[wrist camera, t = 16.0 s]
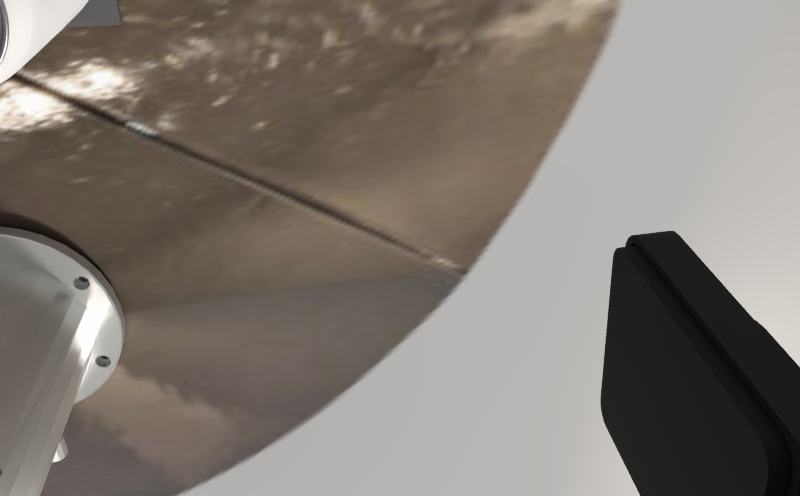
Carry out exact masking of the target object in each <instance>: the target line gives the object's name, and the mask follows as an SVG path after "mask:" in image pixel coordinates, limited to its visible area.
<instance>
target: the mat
mask: <svg viewBox="0 0 800 496" xmlns="http://www.w3.org/2000/svg"><path fill="white" fill-rule="evenodd" d="M121 24H122V19H121V14H120V9H119V4H118V0H88V2H87V3H86V5H85V6H84V7H83V9H82V10H81V11H80V12H79V13H78V14H77V15H76V16H75V17H74V18H73V19H72V20H71V21H70V22H69V23H68V24H67V25H66V26H65V27H64V28H67V27H86V26H105V25H121Z"/></svg>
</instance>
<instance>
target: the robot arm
mask: <svg viewBox="0 0 800 496" xmlns="http://www.w3.org/2000/svg"><path fill="white" fill-rule="evenodd" d="M84 277H85V278H84ZM124 338H125V320H124V316H123V312H122V308H121V304H120V302H119V300H118V298H117V296H116V294H115V292H114V290H113V288H112V286H111V285H110V284H109V283H108V281H107V280H106V279H105V277H104V276H103V275H102V274H101V272H100V271H99V270H98V269H97V268H95V267H94V266H93V265H92V264H91V263H90V262H89V261H88V260H87V259H85V258H84V257H83V256H81V255H80V254H78V253H77V252H75V251H74V250H72V249H71V248H69V247H67V246H66V245H64V244H62V243H59V242H57V241H55V240H53V239H50V238H48V237H46V236H44V235H40V234H37V233H33V232H29V231H26V230H22V229H16V228H8V227H0V496H40V494H41V491H42V489H43V486H44V483H45V480H46V478H47V475H48V472H49V469H50V467H51V464H52V462H57V461H60V460H61V459H63V458H65V456H66V455H67V454H68V448H67V445H66V442H65V439H64V436H63V431H64V428H65V426H66V423H67V420H68V417H69V415H70V412H71V409H72V406H73V404H75V403H78V402H80V401H81V400H83V399H85V398H86V397H88V396H90V395H91V394H93V393H94V392H95V391H96V390H97V389H98V388H99V387H101V386H102V385H103V384H104V383H105V382H106V381H107V379H108V378H109V376H110V375H111V373H112V372H113V371H114V369H115V367H116V365H117V362H118V359H119V357H120V354H121V351H122V346H123V342H124ZM601 410H602V416H603V419H604V423H605V425H606V427H607V429H608V431H609V433H610V435H611V437H612V439H613V441H614V443H615V445H616V447H617V449H618V452H619V453H620V456H621V458H622V460H623V462H624V464H625V466H626V468H627V469H628V472H629V474H630V476H631V478H632V480H633V482H634V484H635V486H636V487H637V490H638V492H639V494H640V496H800V367H799V366H798V365H797V364H796V363H795V362H794V360H793V359H792V358H791V357H790V356H789V355H788V354H787V353H786V351H785V350H784V349H783V348H782V347H781V346H780V345H779V344H778V343H777V341H776V340H775V339H774V338H773V337H772V336H771V335H770V334H769V333H768V331H767V330H766V329H765V328H764V327H763V326H762V325H760V324H759V323H758V322H757V321H755V320H754V319H753V318H752V317H751V316H750V315H749V314H748V312H747V311H746V310H745V309H744V308H743V307H742V306H741V305H740V303H739V302H738V301H737V300H736V299H735V298H734V297H733V296H732V295H731V293H730V292H729V291H728V290H727V289H726V288H725V287H724V286H723V284H722V283H721V282H720V281H719V280H718V279H717V277H716V276H715V275H714V274H713V273H712V272H711V271H710V270H709V269H708V267H707V266H706V265H705V264H704V263H703V262H702V261H701V260H700V258H699V257H698V256H697V255H696V254H695V253H694V252H693V250H692V249H691V248H690V247H689V246H688V245H687V244H686V243H685V241H684V240H683V239H682V238H681V237H680V236H679V235H678V234H677V233H676V232H674V231H666V232H657V233H649V234H640V235H632V236H630V237H629V238H628V240H627V243H626V246H625V247H622V248H617V249H616V250H615V252H614V257H613V265H612V276H611V287H610V299H609V310H608V322H607V334H606V344H605V355H604V367H603V379H602V389H601Z"/></svg>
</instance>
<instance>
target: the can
mask: <svg viewBox="0 0 800 496" xmlns="http://www.w3.org/2000/svg"><path fill="white" fill-rule="evenodd" d="M87 2H88V0H0V83H2V82H3V81H5V80H7V79H8V78H9V77H11V76H12V75H13V74H15V73H16V72H17V71H18V70H19V69H20V68H22V67H23V66H24V65H25V64H26V63H27V62H28V61H29V60H30V59H31V58H32V57H33V56H34V55H36V54H37V53H38V52H39V51H40V50H41V49H42V48H43V47H44V46H45V45H46V44H47V43H48V42H49V41H50V40H51V39H52V38H53V37H54V36H55V35H57V34H58V33H59V32H60V31H61V30H62V29H63V28H64V27H65V26H66V25H67V24H68V23H69V22H70V21H71V20H72V19H73V18H74V17H75V16H76V15H77V14H78V13H79V12H80V11H81V10H82V9H83V7H84V6H85V5H86V3H87Z"/></svg>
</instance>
